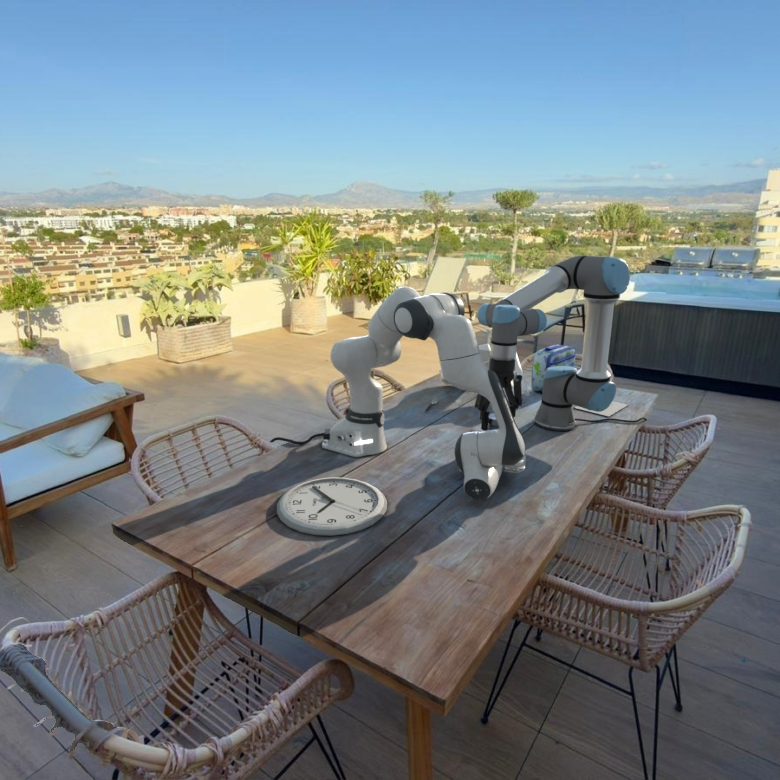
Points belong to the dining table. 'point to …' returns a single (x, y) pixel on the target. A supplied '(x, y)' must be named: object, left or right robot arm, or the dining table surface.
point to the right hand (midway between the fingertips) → (496, 428)
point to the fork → (432, 403)
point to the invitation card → (609, 411)
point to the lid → (493, 420)
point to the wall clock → (331, 506)
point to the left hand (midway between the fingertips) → (495, 448)
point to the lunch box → (550, 362)
